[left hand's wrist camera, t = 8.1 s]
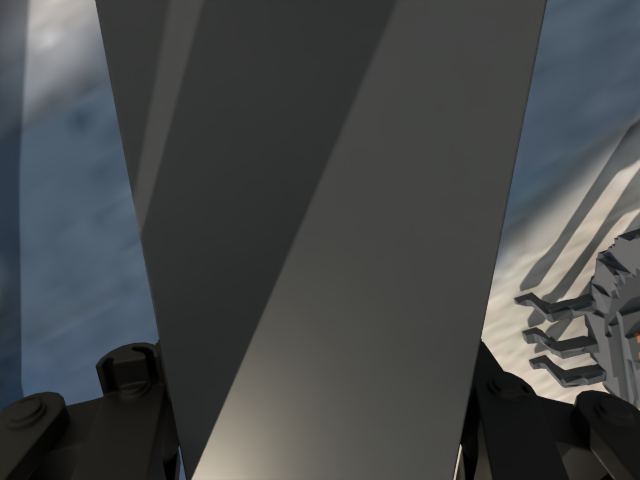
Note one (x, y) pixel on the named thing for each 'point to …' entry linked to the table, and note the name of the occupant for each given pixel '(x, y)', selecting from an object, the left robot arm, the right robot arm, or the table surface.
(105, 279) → the table surface
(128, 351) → the left robot arm
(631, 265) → the toy
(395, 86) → the bar
